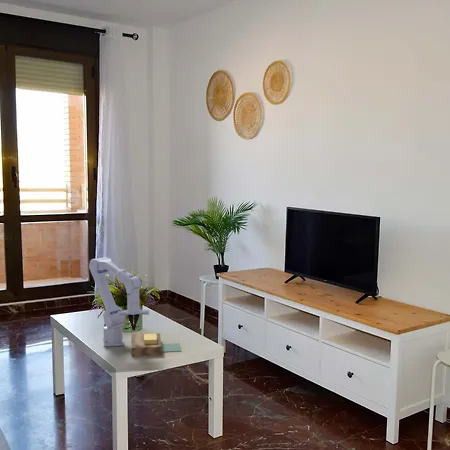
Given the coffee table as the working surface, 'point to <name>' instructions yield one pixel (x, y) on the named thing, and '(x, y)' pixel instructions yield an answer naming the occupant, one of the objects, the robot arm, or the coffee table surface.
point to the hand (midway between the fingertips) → (133, 329)
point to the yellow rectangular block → (150, 339)
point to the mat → (171, 347)
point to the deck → (145, 346)
